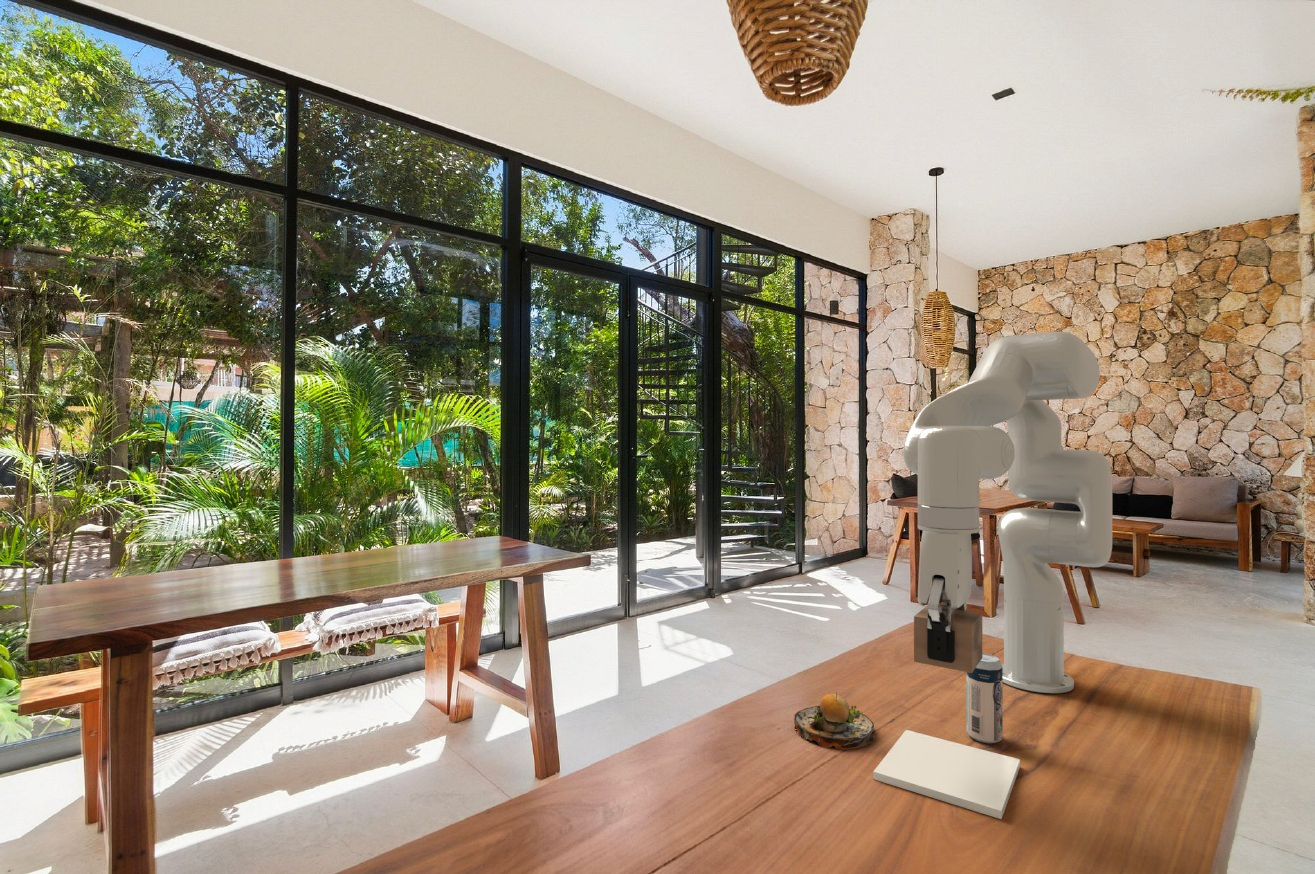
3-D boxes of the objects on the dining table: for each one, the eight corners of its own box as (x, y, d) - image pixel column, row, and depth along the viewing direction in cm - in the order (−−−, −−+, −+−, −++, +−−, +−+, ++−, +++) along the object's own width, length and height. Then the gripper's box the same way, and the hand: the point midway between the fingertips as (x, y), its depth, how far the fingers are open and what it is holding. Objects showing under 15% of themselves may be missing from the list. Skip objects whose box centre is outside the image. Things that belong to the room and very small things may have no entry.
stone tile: (906, 736, 97) (906, 729, 97) (1019, 766, 88) (1020, 759, 88) (873, 779, 85) (873, 771, 85) (1001, 819, 76) (1001, 810, 76)
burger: (878, 724, 102) (878, 676, 102) (869, 757, 91) (869, 704, 91) (802, 710, 107) (802, 665, 107) (785, 741, 96) (785, 690, 96)
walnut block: (927, 647, 91) (927, 605, 91) (982, 657, 87) (982, 613, 87) (914, 661, 86) (914, 616, 86) (971, 673, 81) (971, 625, 81)
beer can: (1007, 746, 94) (1007, 663, 94) (971, 743, 94) (971, 661, 94) (996, 731, 98) (996, 653, 98) (962, 729, 99) (962, 651, 99)
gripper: (934, 511, 96) (934, 631, 95) (899, 523, 82) (899, 664, 82) (990, 514, 91) (990, 641, 91) (964, 528, 77) (964, 678, 77)
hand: (947, 651), depth 86 cm, fingers closed on walnut block, 7 cm apart
